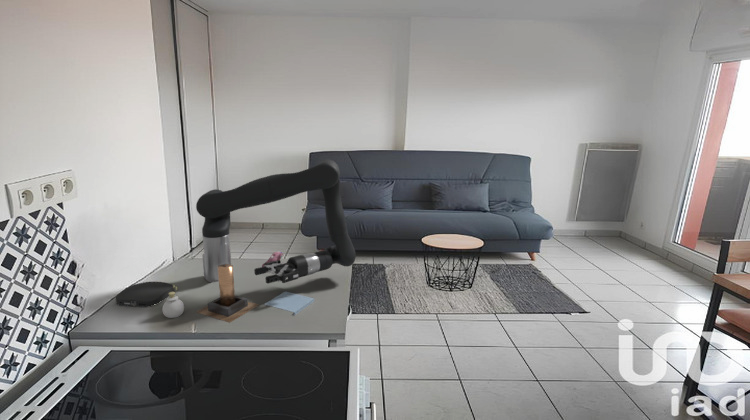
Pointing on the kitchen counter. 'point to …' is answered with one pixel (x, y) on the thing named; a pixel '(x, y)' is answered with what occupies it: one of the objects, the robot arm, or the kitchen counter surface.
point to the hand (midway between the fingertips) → (260, 276)
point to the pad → (290, 302)
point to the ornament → (173, 306)
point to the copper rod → (226, 284)
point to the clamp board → (228, 309)
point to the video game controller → (274, 257)
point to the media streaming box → (144, 294)
